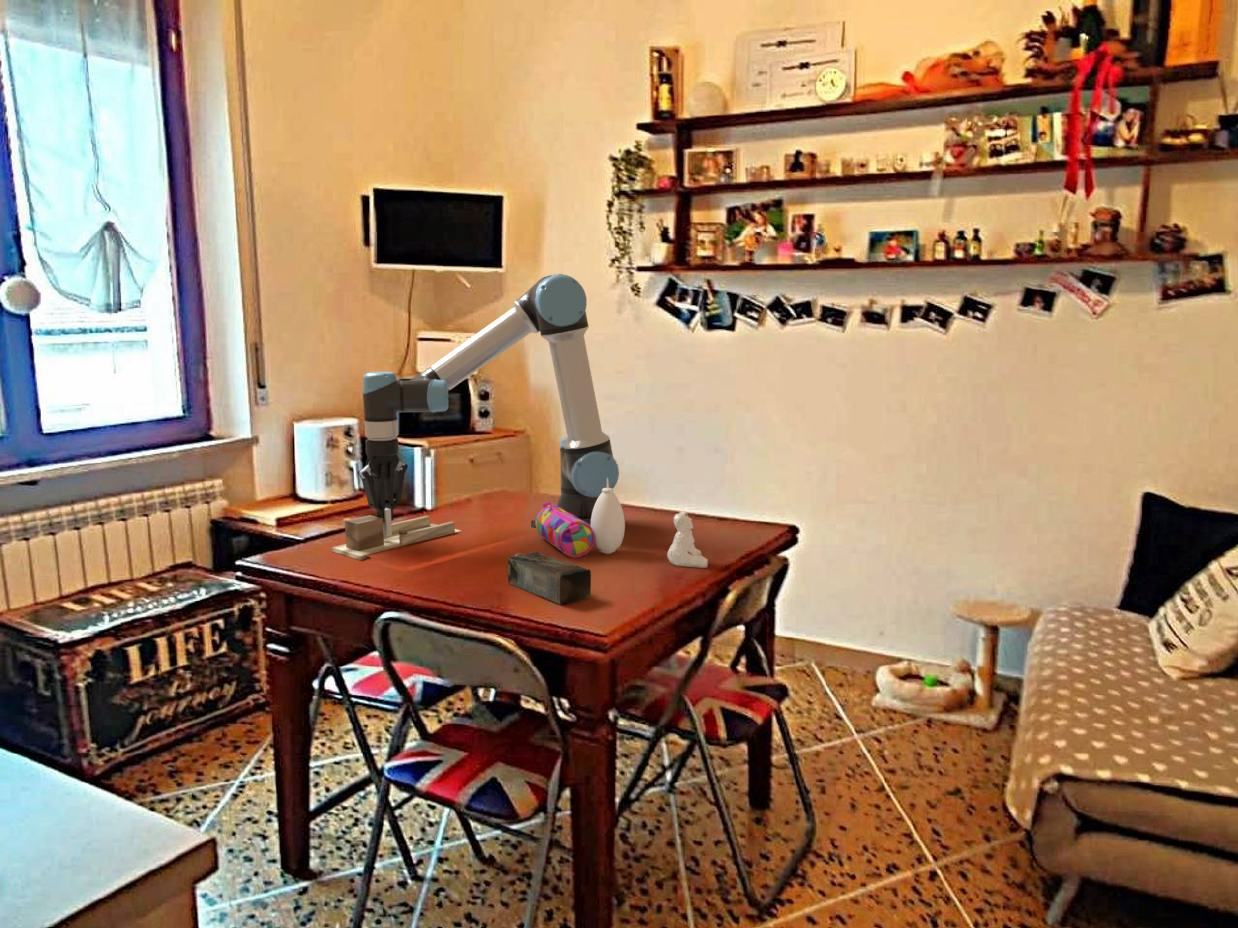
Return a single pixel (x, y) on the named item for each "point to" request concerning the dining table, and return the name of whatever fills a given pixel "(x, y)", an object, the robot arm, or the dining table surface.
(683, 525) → the white creature statuette
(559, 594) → the dark grey block
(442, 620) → the dining table surface
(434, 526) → the railed wooden board
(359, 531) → the walnut block
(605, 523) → the sauce bottle
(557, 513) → the pencil case
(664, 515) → the dining table surface
